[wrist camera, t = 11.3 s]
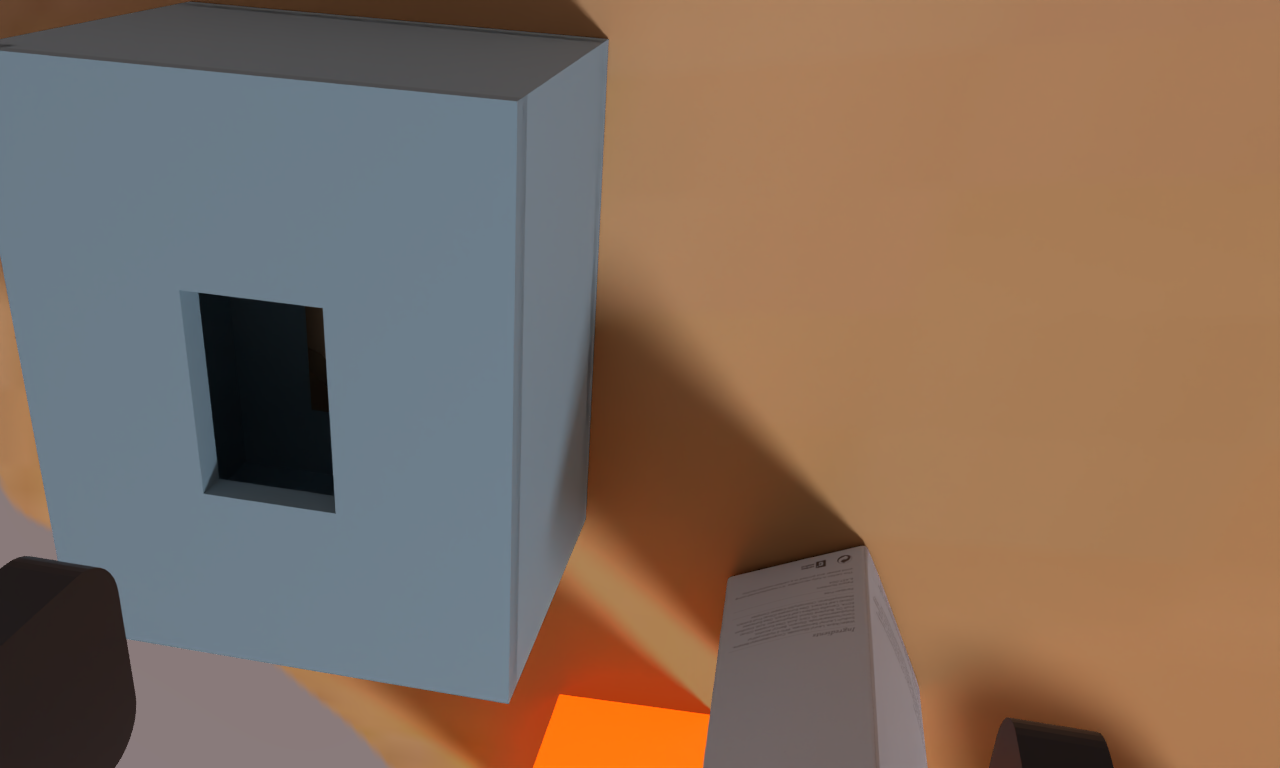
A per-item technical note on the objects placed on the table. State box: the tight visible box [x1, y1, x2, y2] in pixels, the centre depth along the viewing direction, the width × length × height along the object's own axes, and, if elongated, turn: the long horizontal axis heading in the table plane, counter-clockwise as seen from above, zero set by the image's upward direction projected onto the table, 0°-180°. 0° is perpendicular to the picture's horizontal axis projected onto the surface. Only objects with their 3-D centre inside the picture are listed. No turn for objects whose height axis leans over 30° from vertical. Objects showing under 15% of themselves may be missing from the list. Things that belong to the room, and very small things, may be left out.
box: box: [0, 2, 609, 704], centre depth 40 cm, size 16×20×12 cm
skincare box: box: [703, 546, 928, 768], centre depth 42 cm, size 8×7×16 cm
